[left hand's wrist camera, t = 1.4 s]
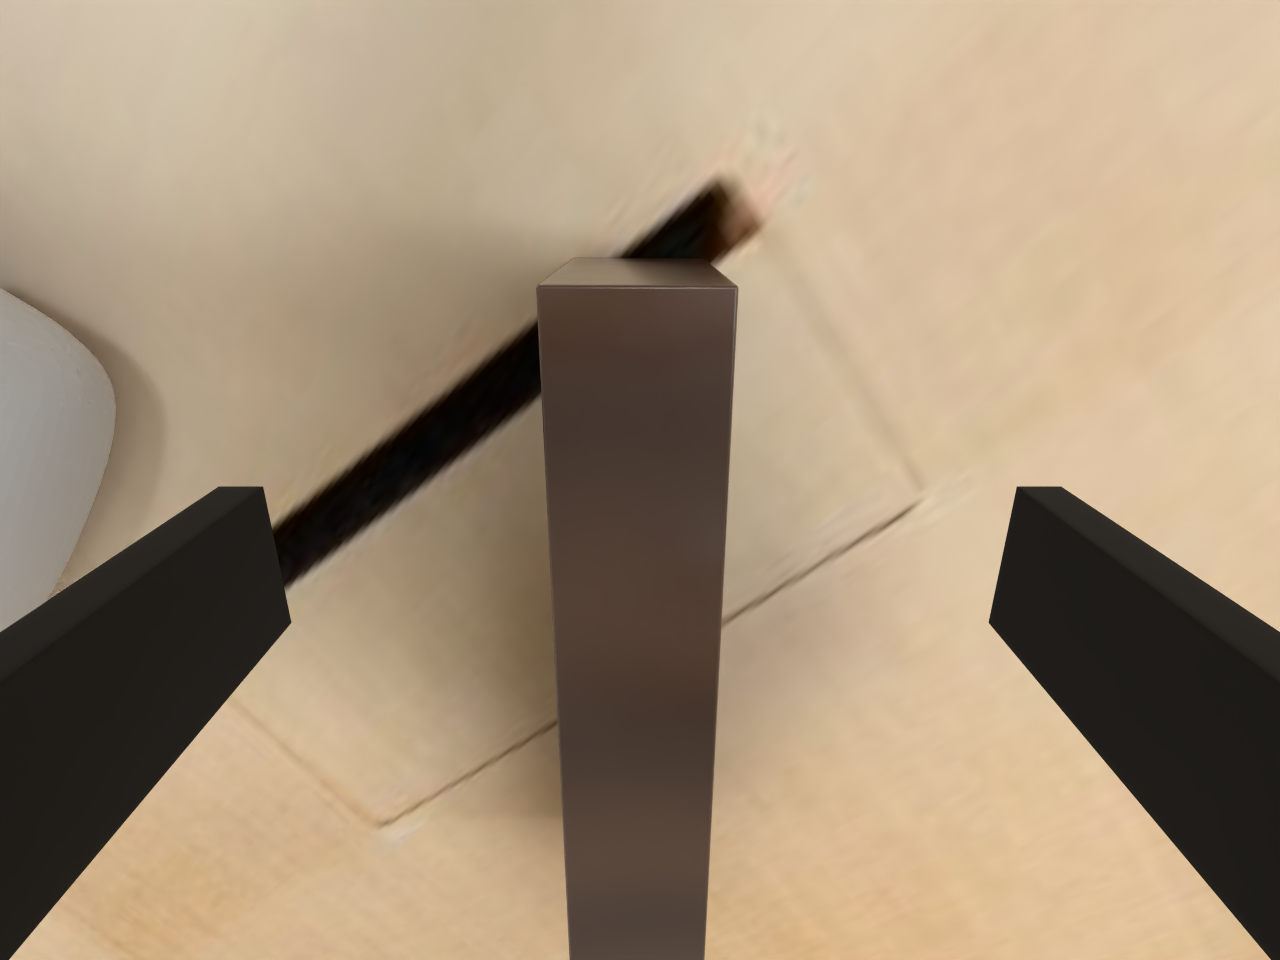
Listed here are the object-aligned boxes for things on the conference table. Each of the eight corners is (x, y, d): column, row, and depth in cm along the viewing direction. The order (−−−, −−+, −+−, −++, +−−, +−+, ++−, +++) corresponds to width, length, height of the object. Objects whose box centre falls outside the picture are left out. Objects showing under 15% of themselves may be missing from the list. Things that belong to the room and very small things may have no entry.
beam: (572, 257, 27) (535, 285, 17) (704, 258, 27) (738, 285, 17) (589, 819, 37) (572, 1028, 27) (685, 819, 37) (701, 1028, 27)
